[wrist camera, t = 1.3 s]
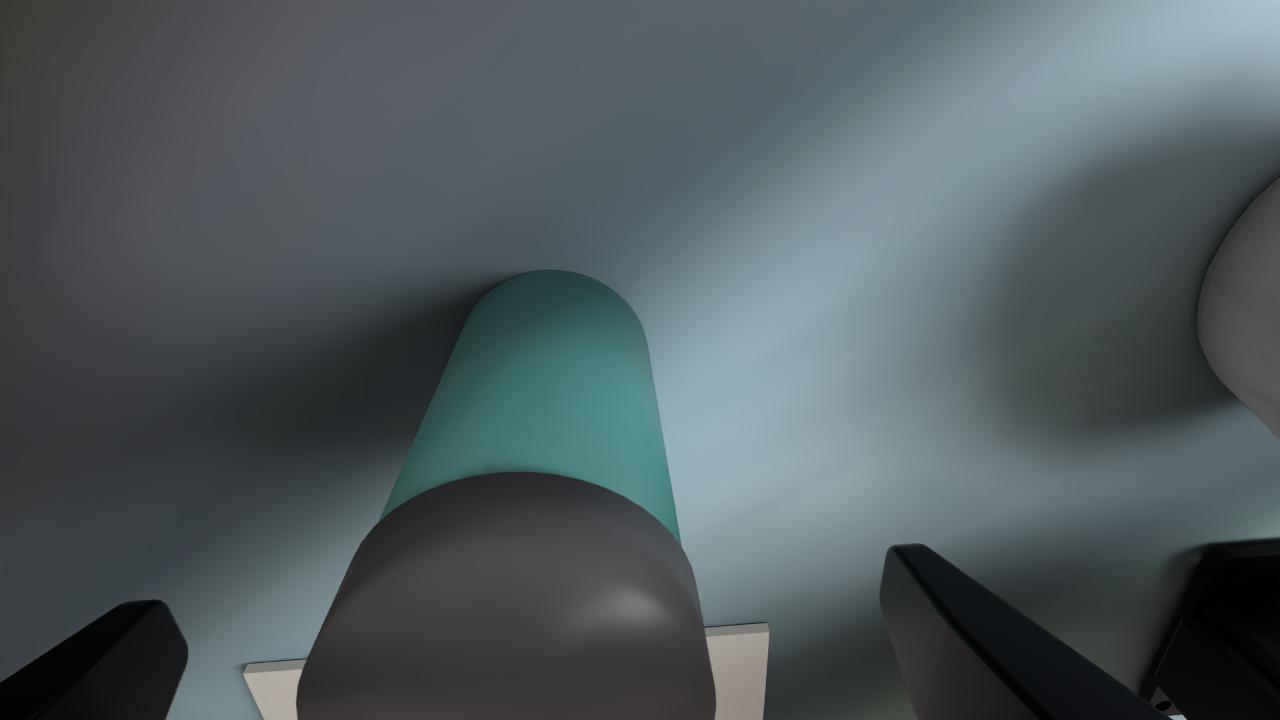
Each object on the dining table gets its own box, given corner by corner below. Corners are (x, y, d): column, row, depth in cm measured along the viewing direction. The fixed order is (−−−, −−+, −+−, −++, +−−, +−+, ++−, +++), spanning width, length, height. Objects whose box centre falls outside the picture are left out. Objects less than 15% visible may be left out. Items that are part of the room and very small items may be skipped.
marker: (649, 259, 13) (719, 551, 6) (655, 434, 15) (713, 819, 8) (438, 271, 13) (237, 586, 6) (471, 447, 15) (352, 852, 8)
